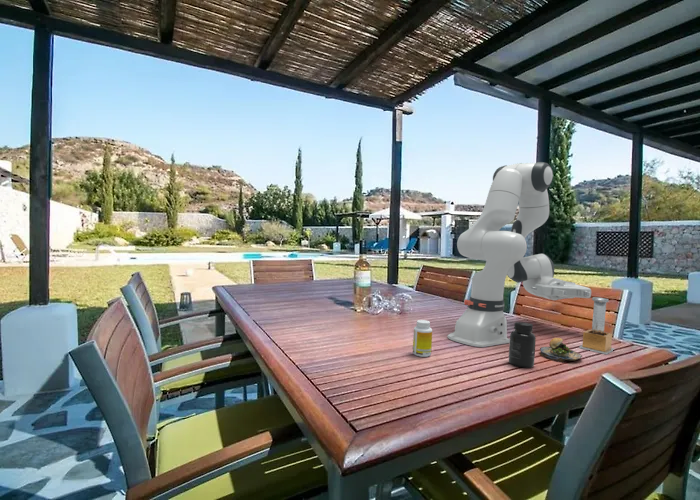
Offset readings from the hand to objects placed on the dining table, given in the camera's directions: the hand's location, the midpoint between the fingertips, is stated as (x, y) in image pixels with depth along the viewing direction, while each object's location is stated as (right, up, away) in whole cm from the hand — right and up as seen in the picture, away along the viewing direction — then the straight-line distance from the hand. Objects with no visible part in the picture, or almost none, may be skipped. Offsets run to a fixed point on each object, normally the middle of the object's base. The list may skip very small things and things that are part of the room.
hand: (576, 294), depth 137 cm
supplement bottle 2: (-33, -17, -28) cm, 47 cm away
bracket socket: (+1, -18, -10) cm, 20 cm away
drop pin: (+1, -17, -10) cm, 20 cm away
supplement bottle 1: (-61, -16, -23) cm, 67 cm away
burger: (-17, -18, -20) cm, 32 cm away
